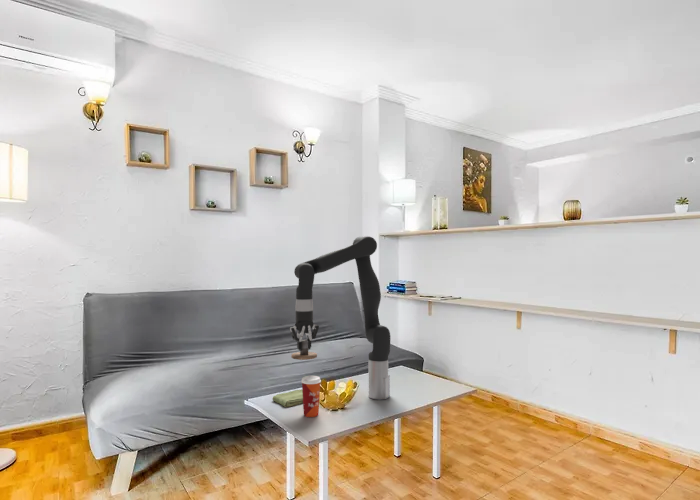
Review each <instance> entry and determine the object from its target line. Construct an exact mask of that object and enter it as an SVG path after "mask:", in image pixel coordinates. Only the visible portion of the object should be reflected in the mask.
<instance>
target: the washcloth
mask: <svg viewBox="0 0 700 500" xmlns="http://www.w3.org/2000/svg"><path fill="white" fill-rule="evenodd" d="M272 401H273V402H275V403H276V404H280V405H281V406H283V407H284V408H289V407H295V406H297V405H301V404H302V405H303V392H302V388H301V389H296V390H292V391H288V392H283V393H279V394H276V395H274V396H273V397H272Z"/></svg>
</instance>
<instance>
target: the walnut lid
mask: <svg viewBox="0 0 700 500" xmlns="http://www.w3.org/2000/svg"><path fill="white" fill-rule="evenodd" d="M301 342H302V350H301V351H300V350H299V352H298V351H297V352H293V353H291V359H294V360H301V361H303V360H305V361H306V360H314V359H316V358H317V357H318V353H316V352H313V351H309V349H308V340H307V339H302V341H301Z"/></svg>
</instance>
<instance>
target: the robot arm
mask: <svg viewBox="0 0 700 500" xmlns="http://www.w3.org/2000/svg"><path fill="white" fill-rule="evenodd" d="M377 247H378V243H377V241H376V239H375V238H374V237H373V236H368V235H363V236H358V237H356V238H355V239H354V240H353V241H352V244H351V245H349V246H347V247H346V246H345V247H344V248H340V249H337V250H334V251H331V252H328V253H325V254H322V255H320V256H318V257H316V258H313V259H311V260H307V261H305V262H301V263H299V264H297V265H296V266H295V267H294V275H295V277H296V278H297V279H298V285H297V287H296V290H295V307H294V308H295V309H294V310H295V324H294V325H293V326H290V327H289V328H288V331H290V335H291V337H292V340H293V341H296V348H297V350H298V351H299V352H300V351H301V350H302V342H301V341H302V340H303V337H304V334H305V337H306V340H308V350H311V349H312V340H314V339H316V337H317V334H318V331H319V328H320V325H318V324H314V321H313V320H314V302H313V301H314V300H313V288H314V287H313V286H314V280H315V275H317V274H321V273H325V272H327V271H329V270H331V269H335V268H337V267H338V266H340V265H343V264H346V263H348V262H350V261H352V260H355V264H356V267H357V268H356V269H357V275H358V276H357V277H358V281H359V292H360V296H361V303H362V309H363V315H364V334H365V337H366V339H367V341H368V342H369V343H370V344H372V351H370V352H368V397H369V399H372V400H387V399H388V398H389V397H391V396H390V395H391V389H390V388H391V378H390V377H391V376H390V375H389V356H390V353H391V332H390V330H389V328H388V327H387V326H385V325H383V324H382V325H381V323H380V319H379V308H380V304H381V300H382V295H381V286H380V282H379V281H380V280H379V279H378V277H377V274H376V272H375V271H374V268H373V266H372V262H371V256H372V255H373V254H374V253H375V252H376V251H377ZM296 330H297V333H296Z"/></svg>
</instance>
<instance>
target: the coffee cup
mask: <svg viewBox="0 0 700 500" xmlns="http://www.w3.org/2000/svg"><path fill="white" fill-rule="evenodd" d="M300 382H301V387H302V388H301V389H302V392H303V403H302V405H303V406H302V411H303V416H304V417H307V418H316V417H318V416H319V410H320V409H319V408H320V391H321V382H322V380H321V377H320V376H318V375H305V376H303V377H302V378H301V381H300Z"/></svg>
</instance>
